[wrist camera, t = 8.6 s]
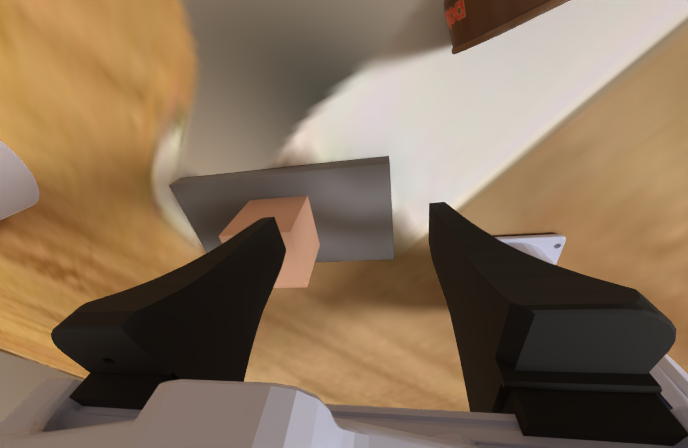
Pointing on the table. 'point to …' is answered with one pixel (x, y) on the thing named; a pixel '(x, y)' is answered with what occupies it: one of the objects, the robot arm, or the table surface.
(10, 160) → the wedge on round base
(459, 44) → the tin
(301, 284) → the cube
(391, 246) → the charcoal board
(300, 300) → the table surface
